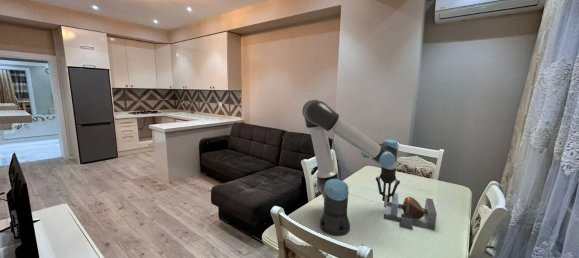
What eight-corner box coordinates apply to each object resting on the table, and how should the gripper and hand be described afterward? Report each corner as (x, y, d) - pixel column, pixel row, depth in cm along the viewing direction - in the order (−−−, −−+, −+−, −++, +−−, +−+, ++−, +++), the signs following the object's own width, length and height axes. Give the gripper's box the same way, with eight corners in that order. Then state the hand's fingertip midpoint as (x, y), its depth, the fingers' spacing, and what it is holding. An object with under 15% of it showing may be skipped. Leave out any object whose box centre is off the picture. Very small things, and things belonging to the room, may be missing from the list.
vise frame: (435, 235, 113) (437, 218, 112) (382, 222, 124) (384, 207, 122) (430, 213, 133) (432, 199, 132) (385, 204, 143) (386, 190, 142)
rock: (430, 214, 123) (418, 207, 120) (415, 227, 126) (404, 220, 122) (415, 199, 134) (404, 191, 131) (402, 210, 137) (391, 203, 134)
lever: (410, 222, 118) (412, 199, 116) (403, 220, 120) (405, 198, 118) (409, 218, 121) (412, 197, 119) (403, 217, 122) (405, 195, 120)
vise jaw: (396, 219, 126) (398, 204, 125) (390, 218, 128) (391, 202, 126) (397, 208, 139) (398, 193, 137) (391, 206, 140) (392, 192, 139)
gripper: (401, 166, 131) (397, 206, 136) (376, 163, 137) (374, 201, 141) (401, 171, 125) (397, 212, 129) (375, 167, 130) (372, 206, 134)
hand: (385, 206), depth 135 cm, fingers closed
